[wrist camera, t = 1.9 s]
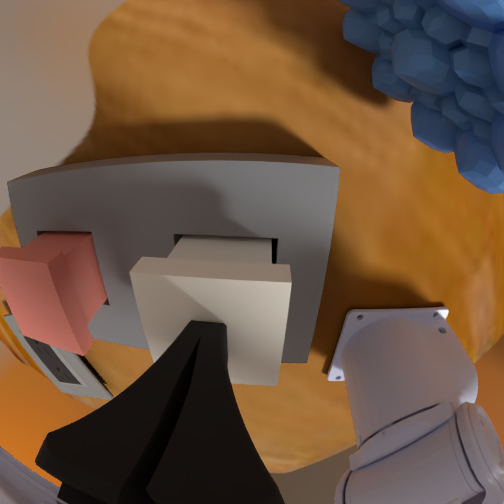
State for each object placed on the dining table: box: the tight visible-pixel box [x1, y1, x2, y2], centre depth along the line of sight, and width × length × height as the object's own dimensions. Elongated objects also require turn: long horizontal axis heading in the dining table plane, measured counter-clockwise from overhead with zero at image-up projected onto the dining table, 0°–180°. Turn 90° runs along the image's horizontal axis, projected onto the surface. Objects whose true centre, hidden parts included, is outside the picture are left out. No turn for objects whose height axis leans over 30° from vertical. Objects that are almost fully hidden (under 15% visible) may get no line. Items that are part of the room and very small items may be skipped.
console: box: [7, 152, 340, 363], centre depth 16 cm, size 20×12×4 cm, turn 89°
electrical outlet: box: [3, 314, 114, 400], centre depth 23 cm, size 13×10×2 cm
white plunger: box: [129, 234, 292, 386], centre depth 12 cm, size 6×6×5 cm
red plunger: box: [0, 231, 108, 356], centre depth 13 cm, size 6×6×5 cm
